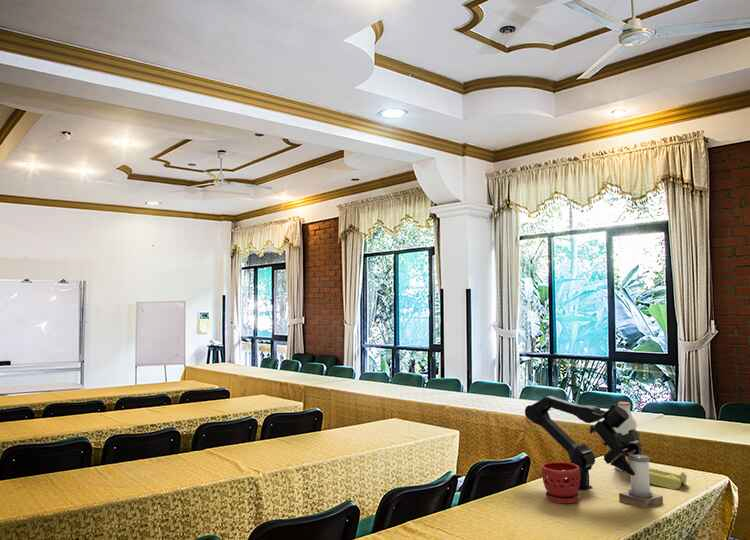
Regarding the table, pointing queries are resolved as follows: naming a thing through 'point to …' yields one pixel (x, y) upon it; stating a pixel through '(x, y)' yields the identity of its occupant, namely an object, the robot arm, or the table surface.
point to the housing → (640, 476)
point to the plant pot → (561, 481)
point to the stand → (641, 500)
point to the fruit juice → (626, 424)
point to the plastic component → (666, 479)
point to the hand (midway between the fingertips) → (640, 472)
